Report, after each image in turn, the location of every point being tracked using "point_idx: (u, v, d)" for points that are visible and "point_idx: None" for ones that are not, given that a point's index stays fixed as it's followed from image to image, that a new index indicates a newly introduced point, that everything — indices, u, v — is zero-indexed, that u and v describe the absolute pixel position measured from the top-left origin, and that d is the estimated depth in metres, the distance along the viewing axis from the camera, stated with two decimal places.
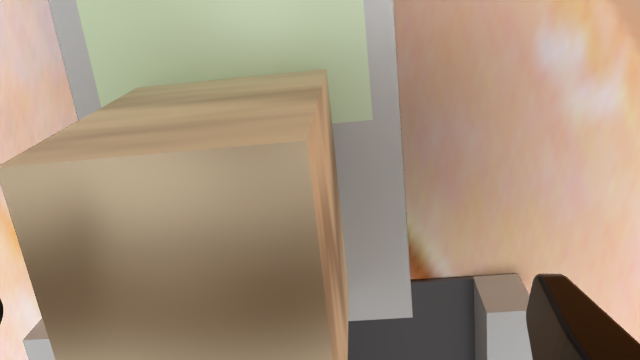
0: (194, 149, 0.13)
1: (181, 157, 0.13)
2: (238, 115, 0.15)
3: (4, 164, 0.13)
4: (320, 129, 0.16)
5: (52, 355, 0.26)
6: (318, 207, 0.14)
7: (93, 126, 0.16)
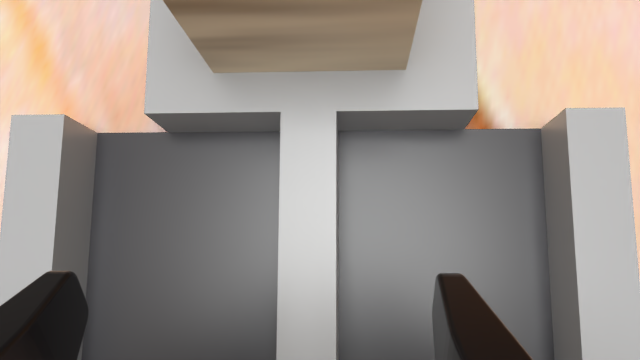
0: None
1: None
2: None
3: None
4: None
5: (39, 137, 0.21)
6: None
7: None
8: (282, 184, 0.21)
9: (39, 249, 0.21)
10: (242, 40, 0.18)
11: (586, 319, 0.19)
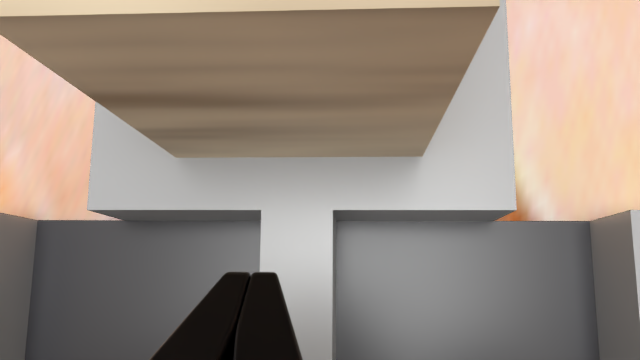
0: None
1: None
2: None
3: None
4: None
5: None
6: None
7: None
8: None
9: None
10: (206, 130, 0.14)
11: None
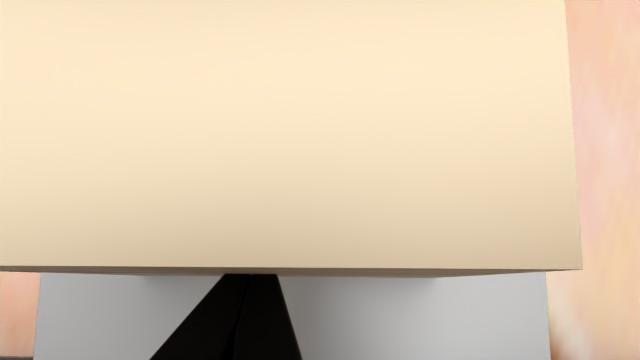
0: None
1: None
2: None
3: None
4: None
5: None
6: None
7: None
8: None
9: None
10: (170, 274, 0.11)
11: None
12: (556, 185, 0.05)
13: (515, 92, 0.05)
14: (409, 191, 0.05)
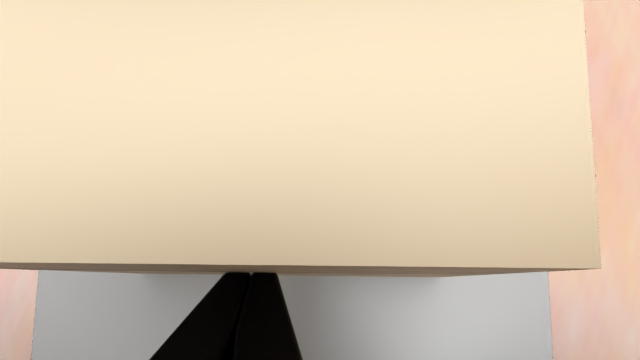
0: None
1: None
2: None
3: None
4: None
5: None
6: None
7: None
8: None
9: None
10: None
11: None
12: (573, 182, 0.05)
13: (531, 86, 0.05)
14: (421, 188, 0.05)
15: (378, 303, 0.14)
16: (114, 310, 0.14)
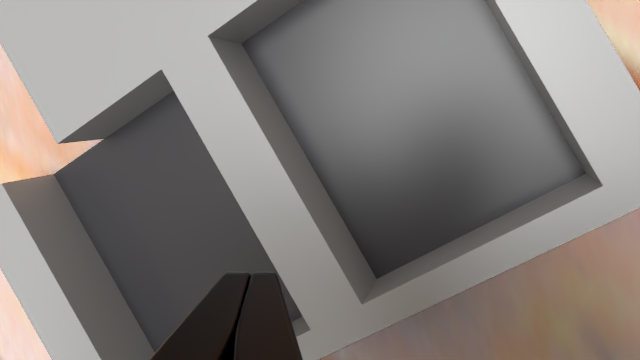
0: None
1: None
2: None
3: None
4: None
5: None
6: None
7: None
8: (203, 136, 0.19)
9: (56, 303, 0.22)
10: None
11: (558, 94, 0.16)
12: None
13: None
14: None
15: None
16: None
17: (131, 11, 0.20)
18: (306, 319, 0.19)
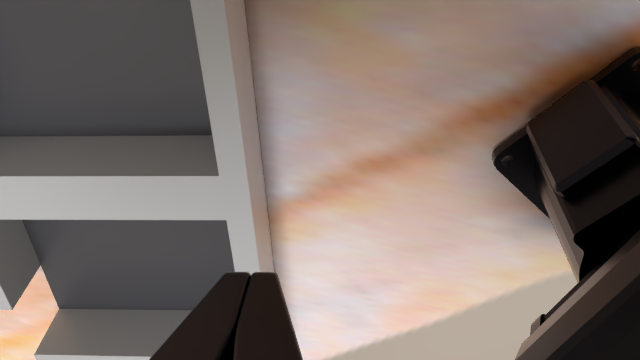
0: None
1: None
2: None
3: None
4: None
5: None
6: None
7: None
8: (33, 217, 0.22)
9: None
10: None
11: None
12: None
13: None
14: None
15: None
16: None
17: None
18: (216, 219, 0.22)
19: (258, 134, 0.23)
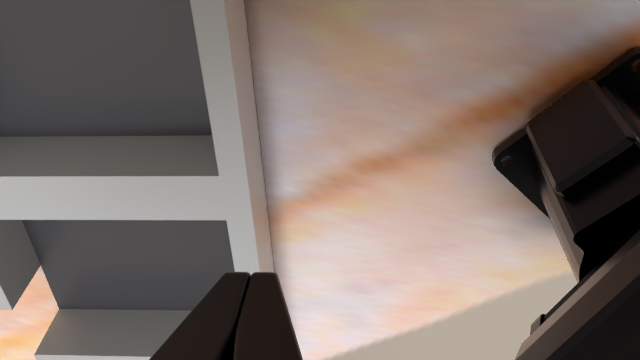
0: None
1: None
2: None
3: None
4: None
5: None
6: None
7: None
8: (33, 217, 0.22)
9: None
10: None
11: None
12: None
13: None
14: None
15: None
16: None
17: None
18: (216, 219, 0.22)
19: (258, 134, 0.23)
